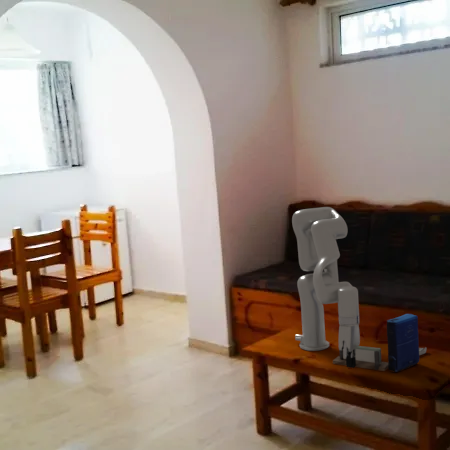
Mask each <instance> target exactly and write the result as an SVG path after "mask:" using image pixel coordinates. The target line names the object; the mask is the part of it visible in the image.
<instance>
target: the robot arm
mask: <svg viewBox="0 0 450 450" xmlns="http://www.w3.org/2000/svg"><path fill="white" fill-rule="evenodd" d="M291 223H292V225H291V226H292V229H293V232H294V234H295V237H296V242H297V252H298V253H297V254H298V264H299V266H300V267H299V268H300V270H302V271H303V272H313V273H307V274H305V275H302V276H300V277H299V278H298V280H297V283H296V284H297V290H298V295H299V298H300V310H301V312H300V313H301V314H300V315H301V326H302V327H301V329H302V331H301V332H302V334H295V336H294V338H295V341H298V342H300V343H299V347H300V349H302V350H304V351H309V352H315V351H317V352H319V351H323V350H326V349H328V348H330V341H327V340H326V330H325V328H326V327H325V324H326V323H325V310H324V305H328V304H335V303H337V310H338V311H337V312H338V324H339V327H338V350H340V351H341V350H343V349H344V351H343V355H345V356H346V365H345V367H346V368H353V369H355V368H356V367H355V366H356V348H357V347H358V346H360V343H361V342H360V341H361V336H360V327H359V325H360V309H359V308H360V307H359V289H358V288H357V287H355V286H353V285H352V284H351V283H350V282H349V281H339V270H338V259H339V258H340V256H341V254H340V251H339V246H338V243H337V240H338V239H344V238H346V237H347V235H348V225H347V223H346V221H345V220H344V218H343V217H342V216H341V215H340V214H339V213H338V212H337V211H336V209H334V208H332V207H330V206H323V207H313V208H305V209H300V210H299V209H298V210H297V211H295V212H294V213H293V215H292V218H291ZM340 351H339V352H340Z"/></svg>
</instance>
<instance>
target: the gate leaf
mask: <svg viewBox="0 0 450 450" xmlns="http://www.w3.org/2000/svg"><path fill="white" fill-rule="evenodd" d="M343 351H344V349H343ZM374 351H379V361H380V363H381V362H382V348H381V347H371V346H365V345H363V346H361V345H359V346H358V347H357V348H356V360H359V361H367V362H374V363H375V358H374ZM343 358H345V359H346V356H345V355H343Z"/></svg>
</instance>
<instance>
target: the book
mask: <svg viewBox="0 0 450 450" xmlns="http://www.w3.org/2000/svg"><path fill="white" fill-rule="evenodd" d="M386 337H387V339H386V340H387V357H388V358H387V360H388V361H387V362H388V368H387V370H388V371H390V372H392V373H397V372H401V371H404V370H407V369H409V368H411V367H412V366H416V365H417V364H418V363H420V355H419V348H420V346H419V344H420V343H419V341H420V340H419V318H418V315H414V314H412V313H405V314H403V315H401V316H398V317H395V318H394V317H393V318H390V319H387V320H386Z"/></svg>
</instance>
